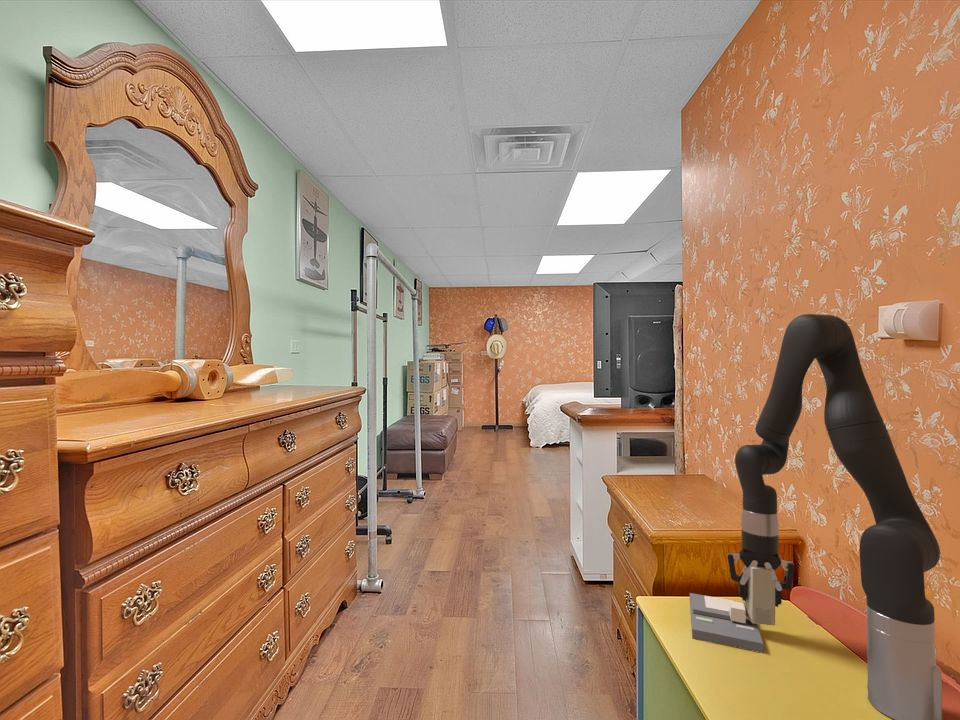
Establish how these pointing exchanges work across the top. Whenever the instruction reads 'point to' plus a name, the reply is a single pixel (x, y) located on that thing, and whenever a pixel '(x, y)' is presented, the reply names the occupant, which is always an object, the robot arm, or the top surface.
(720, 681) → the top surface
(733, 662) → the top surface
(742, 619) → the tab
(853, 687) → the top surface
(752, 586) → the box
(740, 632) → the switch board
